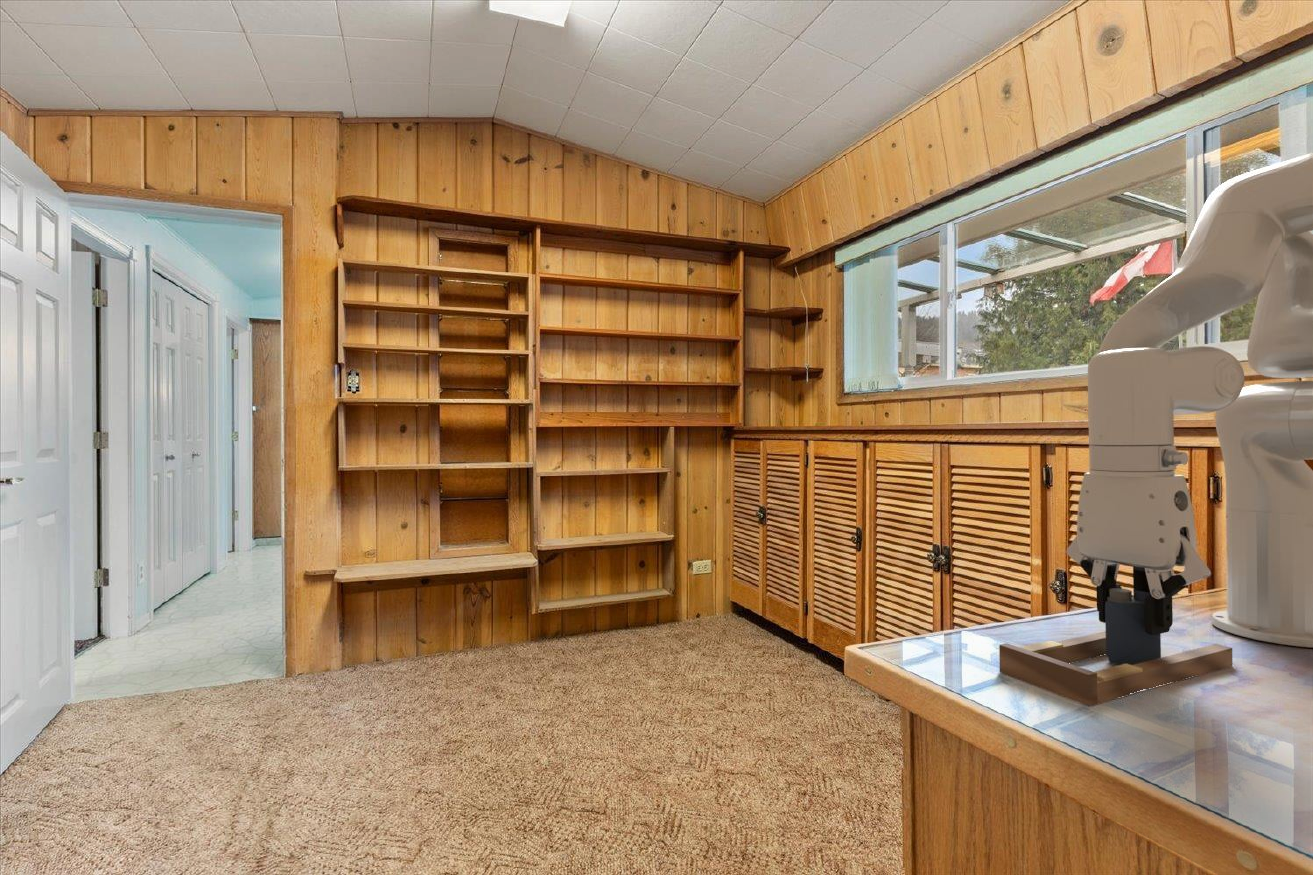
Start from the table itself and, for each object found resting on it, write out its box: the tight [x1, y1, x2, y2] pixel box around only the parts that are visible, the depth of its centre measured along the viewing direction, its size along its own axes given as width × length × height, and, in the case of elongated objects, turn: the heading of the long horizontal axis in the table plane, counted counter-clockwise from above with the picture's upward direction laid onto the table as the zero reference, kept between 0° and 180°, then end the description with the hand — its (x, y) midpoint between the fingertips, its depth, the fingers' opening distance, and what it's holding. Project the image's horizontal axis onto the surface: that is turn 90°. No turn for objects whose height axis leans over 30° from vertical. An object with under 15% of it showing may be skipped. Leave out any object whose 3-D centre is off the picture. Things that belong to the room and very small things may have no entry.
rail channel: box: [998, 630, 1233, 707], centre depth 69 cm, size 24×10×3 cm, turn 113°
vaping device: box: [1104, 566, 1162, 666], centre depth 70 cm, size 3×5×12 cm, turn 79°
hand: (1133, 624), depth 70 cm, fingers closed on vaping device, 4 cm apart
